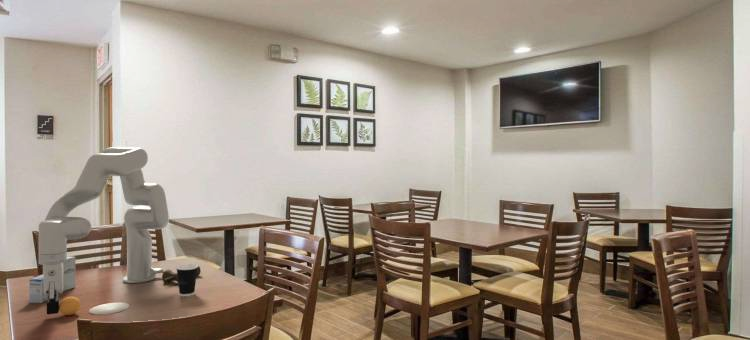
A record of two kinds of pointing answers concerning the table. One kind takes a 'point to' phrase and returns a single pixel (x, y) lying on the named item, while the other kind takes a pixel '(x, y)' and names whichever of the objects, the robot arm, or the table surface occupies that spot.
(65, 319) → the table surface
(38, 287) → the medicine box
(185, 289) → the dixie cup
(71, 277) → the supplement box
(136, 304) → the table surface
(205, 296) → the table surface
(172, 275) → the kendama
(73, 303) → the ball
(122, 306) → the disc
